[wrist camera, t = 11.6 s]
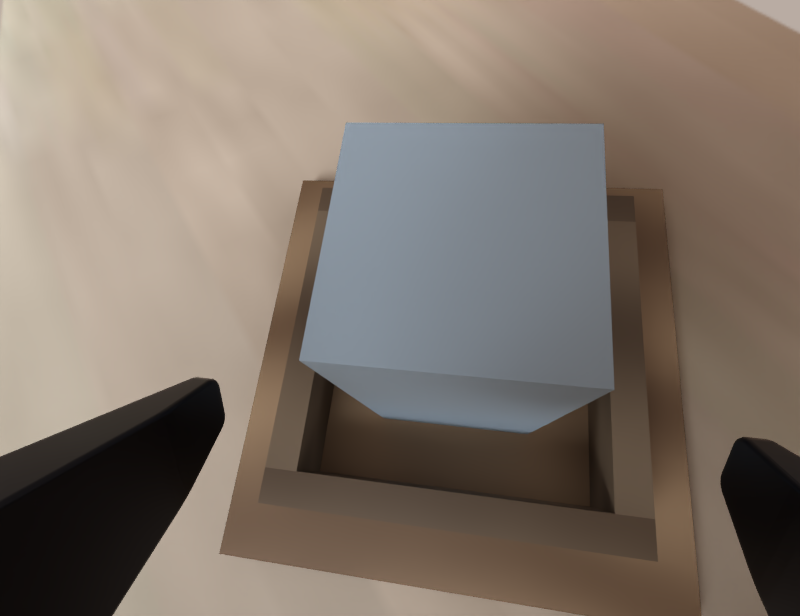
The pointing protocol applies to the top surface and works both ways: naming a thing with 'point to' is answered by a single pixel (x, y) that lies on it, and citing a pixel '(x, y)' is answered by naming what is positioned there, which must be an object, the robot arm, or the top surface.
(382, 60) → the top surface
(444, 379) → the block
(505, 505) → the cradle
